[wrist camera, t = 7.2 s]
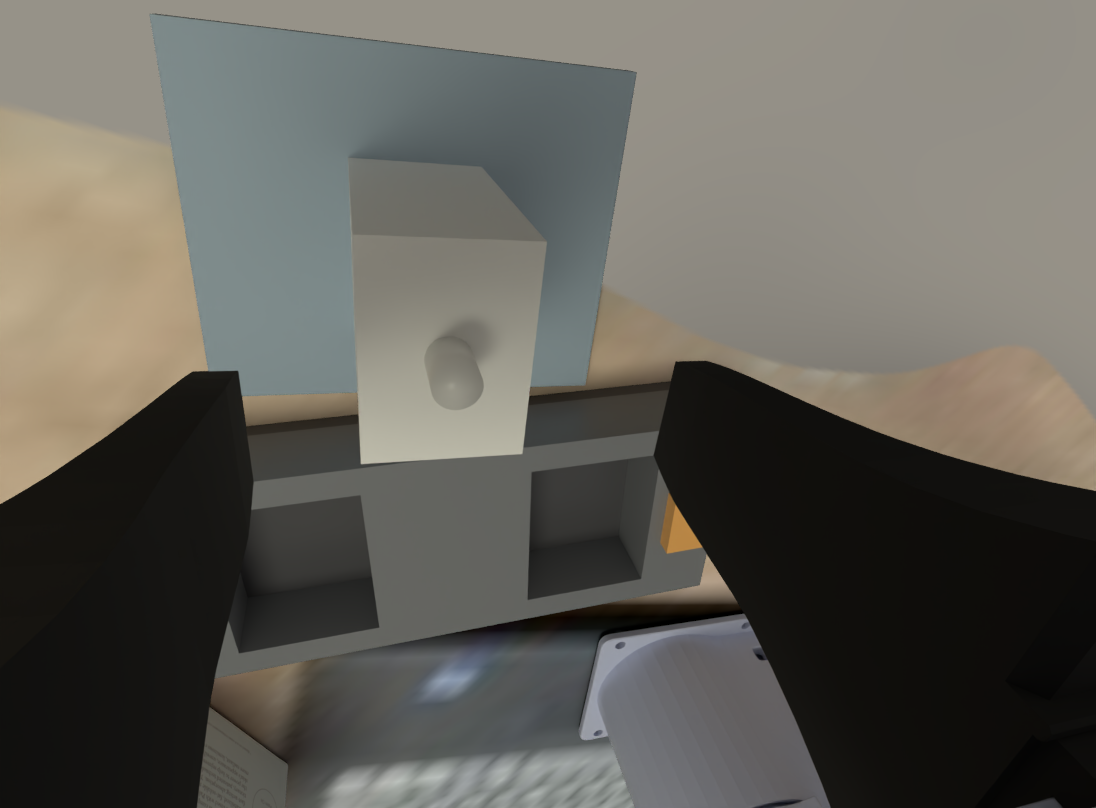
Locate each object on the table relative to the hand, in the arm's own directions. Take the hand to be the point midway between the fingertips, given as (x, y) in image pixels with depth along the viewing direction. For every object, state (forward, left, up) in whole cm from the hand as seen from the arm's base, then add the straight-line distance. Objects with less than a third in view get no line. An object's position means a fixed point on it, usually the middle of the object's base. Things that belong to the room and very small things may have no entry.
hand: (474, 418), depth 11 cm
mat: (0, 0, -10) cm, 10 cm away
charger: (0, 0, -10) cm, 10 cm away
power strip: (-1, +10, -11) cm, 15 cm away
